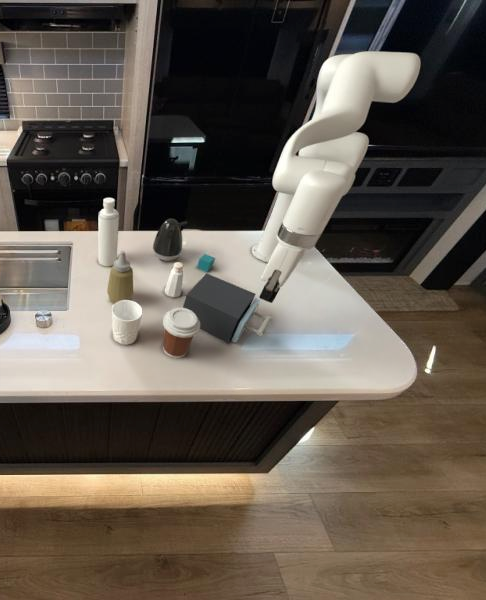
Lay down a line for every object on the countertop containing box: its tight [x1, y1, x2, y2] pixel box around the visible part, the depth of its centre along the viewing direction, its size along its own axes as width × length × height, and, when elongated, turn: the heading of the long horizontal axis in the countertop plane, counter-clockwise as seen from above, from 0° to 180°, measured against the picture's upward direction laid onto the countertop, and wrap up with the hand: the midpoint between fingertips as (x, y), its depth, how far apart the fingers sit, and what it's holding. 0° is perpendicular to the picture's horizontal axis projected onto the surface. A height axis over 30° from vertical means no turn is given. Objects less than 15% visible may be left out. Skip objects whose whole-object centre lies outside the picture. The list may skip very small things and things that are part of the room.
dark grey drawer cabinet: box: [182, 272, 257, 344], centre depth 90 cm, size 15×13×10 cm
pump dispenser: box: [152, 218, 188, 262], centre depth 111 cm, size 10×10×15 cm
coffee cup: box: [162, 307, 201, 359], centre depth 81 cm, size 9×9×12 cm
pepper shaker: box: [164, 262, 184, 298], centre depth 98 cm, size 5×5×11 cm
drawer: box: [231, 298, 272, 344], centre depth 87 cm, size 18×11×8 cm, turn 50°
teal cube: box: [196, 253, 216, 273], centre depth 110 cm, size 4×4×4 cm
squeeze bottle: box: [106, 250, 134, 305], centre depth 93 cm, size 8×8×18 cm
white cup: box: [111, 299, 143, 346], centre depth 85 cm, size 8×8×10 cm
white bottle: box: [97, 197, 120, 267], centre depth 106 cm, size 7×7×25 cm
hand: (266, 298), depth 78 cm, fingers closed
